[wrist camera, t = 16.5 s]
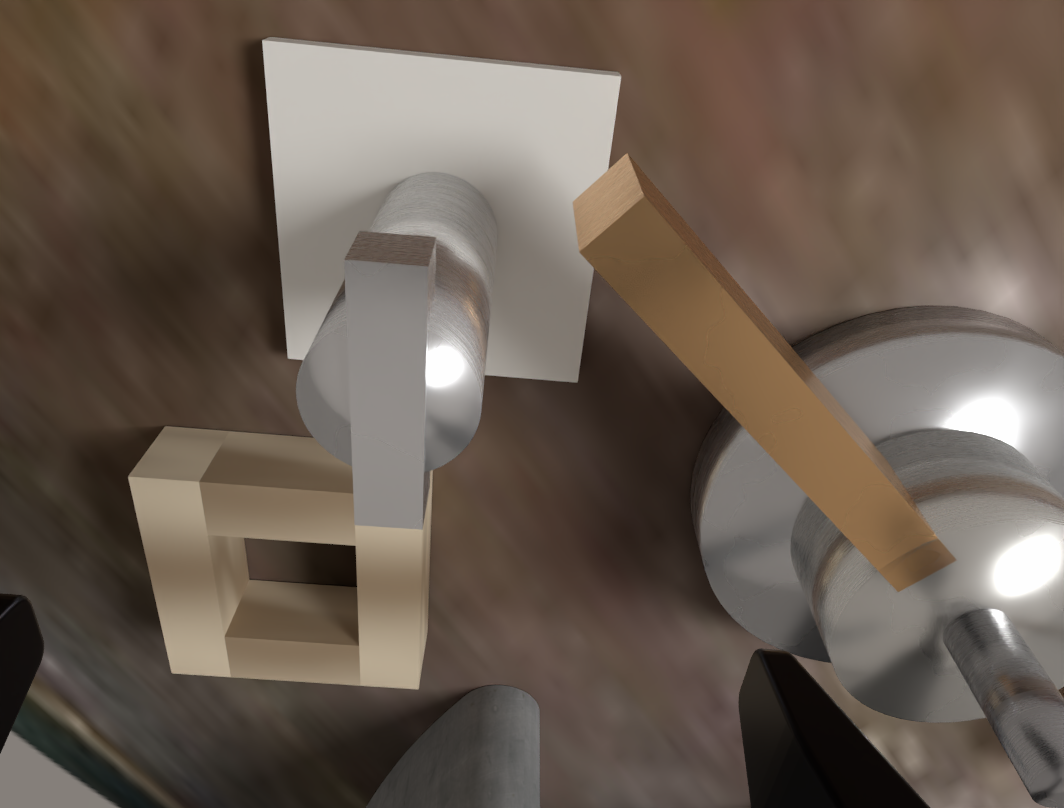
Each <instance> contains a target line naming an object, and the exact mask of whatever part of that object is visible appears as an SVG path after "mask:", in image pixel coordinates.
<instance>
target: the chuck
mask: <svg viewBox="0 0 1064 808" xmlns="http://www.w3.org/2000/svg"><path fill="white" fill-rule="evenodd" d="M573 209H574V217H575V224H576V232H577V240H578V247H579V253H580V254H581V255H582V256H583V257H584V258H585V259H586V260H587V261H588V262H589V263H590V264H591V265H592V266H593V267H594V269H595V270H596V271H597V272H598V273H599V274H600V275H601V276H602V277H603V278H604V279H605V280H606V281H607V282H608V283H609V285H610V286H611V287H612V288H613V289H614V290H615V291H616V292H617V293H618V294H619V295H620V296H621V297H622V298H623V299H624V301H625V302H626V303H627V304H628V305H629V306H630V307H631V308H632V309H633V310H634V311H635V312H636V313H637V314H638V315H639V316H640V318H641V319H642V320H643V321H644V322H645V323H646V324H647V325H648V326H649V327H650V328H651V329H652V330H653V331H654V332H655V334H656V335H657V336H658V337H659V338H660V339H661V340H662V341H663V342H664V343H665V344H666V345H667V346H668V347H669V348H670V350H671V351H672V352H673V353H674V354H675V355H676V356H677V357H678V358H679V359H680V360H681V361H682V362H683V363H684V364H685V366H686V367H687V368H688V369H689V370H690V371H691V372H692V373H693V374H694V375H695V376H696V377H697V378H698V379H699V380H700V382H701V383H702V384H703V385H704V386H705V387H706V388H707V389H708V390H709V391H710V392H711V393H712V394H713V395H714V396H715V398H716V399H717V400H718V401H719V402H720V403H721V404H722V405H723V406H724V407H725V408H726V409H727V410H728V411H729V412H730V414H731V415H732V416H733V417H734V418H735V419H736V420H737V421H738V422H739V423H740V424H741V425H742V426H743V427H744V428H745V430H746V431H747V432H748V433H749V434H750V435H751V436H752V437H753V438H754V439H755V440H756V441H757V442H758V443H759V444H760V446H761V447H762V448H763V449H764V450H765V451H766V452H767V453H768V454H769V455H770V456H771V457H772V458H773V459H774V460H775V462H776V463H777V464H778V465H779V466H780V467H781V468H782V469H783V470H784V471H785V472H786V473H787V474H788V475H789V476H790V478H791V479H792V480H793V481H794V482H795V483H796V484H797V485H798V486H799V487H800V488H801V489H802V490H803V491H804V492H805V494H806V495H807V496H808V498H807V500H806V501H805V502H804V504H803V506H802V508H801V510H800V511H799V513H798V515H797V518H796V520H795V523H794V526H793V529H792V535H791V540H790V553H791V559H792V564H793V567H794V570H795V572H796V575H797V577H798V580H799V582H800V585H801V587H802V590H803V592H804V595H805V597H806V600H807V602H808V605H809V607H810V610H811V612H812V615H813V617H814V620H815V622H816V625H817V627H818V630H819V632H820V635H821V637H822V640H823V642H824V645H825V647H826V650H827V652H828V655H829V657H830V660H831V662H832V665H833V667H834V670H835V672H836V675H837V677H838V678H839V680H840V682H841V683H842V685H843V686H844V687H845V689H846V690H847V691H848V692H849V693H850V694H851V695H852V696H853V697H855V698H856V699H857V700H858V701H860V702H861V703H863V704H864V705H866V706H868V707H870V708H871V709H873V710H876V711H878V712H881V713H883V714H886V715H889V716H893V717H896V718H900V719H905V720H911V721H919V722H933V723H935V722H959V721H969V720H975V719H980V718H987V720H988V722H989V723H990V725H991V727H992V729H993V730H994V732H995V734H996V736H997V737H998V739H999V741H1000V743H1001V744H1002V746H1003V748H1004V750H1005V751H1006V753H1007V755H1008V757H1009V759H1010V760H1011V762H1012V764H1013V766H1014V767H1015V769H1016V771H1017V773H1018V774H1019V776H1020V778H1021V780H1022V781H1023V783H1024V785H1025V787H1026V788H1027V790H1028V792H1029V794H1030V796H1031V797H1032V799H1033V800H1034V801H1035V802H1036V803H1038V804H1040V805H1042V806H1046V807H1051V808H1064V698H1063V696H1062V695H1061V693H1060V692H1059V689H1061V688H1062V687H1064V498H1063V497H1062V496H1061V495H1060V494H1059V493H1058V491H1057V490H1056V489H1055V488H1054V487H1053V486H1052V485H1051V484H1050V483H1049V482H1048V481H1047V480H1046V478H1045V477H1044V476H1043V475H1042V474H1041V473H1040V472H1039V471H1038V470H1037V469H1036V468H1035V466H1034V465H1033V464H1032V463H1031V462H1030V461H1029V460H1028V459H1027V458H1026V457H1025V456H1024V455H1023V454H1022V453H1021V452H1019V451H1018V450H1017V449H1016V448H1014V447H1013V446H1011V445H1009V444H1007V443H1006V442H1004V441H1002V440H1000V439H997V438H994V437H991V436H989V435H985V434H981V433H976V432H972V431H962V430H933V431H925V432H918V433H913V434H909V435H904V436H900V437H897V438H894V439H891V440H888V441H885V442H882V443H880V444H878V445H874V444H873V443H872V442H871V441H870V440H869V438H868V437H867V436H866V435H865V434H864V432H863V431H862V430H861V429H860V428H859V427H858V425H857V424H856V423H855V422H854V421H853V419H852V418H851V417H850V416H849V415H848V414H847V412H846V411H845V410H844V409H843V408H842V406H841V405H840V404H839V403H838V402H837V401H836V399H835V398H834V397H833V396H832V395H831V393H830V392H829V391H828V390H827V389H826V388H825V386H824V385H823V384H822V383H821V382H820V380H819V379H818V378H817V377H816V376H815V375H814V373H813V372H812V371H811V370H810V369H809V367H808V366H807V365H806V364H805V363H804V362H803V360H802V359H801V358H800V357H799V356H798V354H797V353H796V352H795V351H794V350H793V349H792V347H791V346H790V345H789V344H788V343H787V341H786V340H785V339H784V338H783V337H782V336H781V334H780V333H779V332H778V331H777V330H776V328H775V327H774V326H773V325H772V324H771V323H770V321H769V320H768V319H767V318H766V317H765V315H764V314H763V313H762V312H761V311H760V310H759V308H758V307H757V306H756V305H755V304H754V302H753V301H752V300H751V299H750V298H749V297H748V295H747V294H746V293H745V292H744V291H743V289H742V288H741V287H740V286H739V285H738V284H737V282H736V281H735V280H734V279H733V278H732V276H731V275H730V274H729V273H728V272H727V270H726V269H725V268H724V267H723V266H722V265H721V263H720V262H719V261H718V260H717V259H716V257H715V256H714V255H713V254H712V253H711V252H710V250H709V249H708V248H707V247H706V246H705V244H704V243H703V242H702V241H701V240H700V239H699V237H698V236H697V235H696V234H695V233H694V231H693V230H692V229H691V228H690V227H689V226H688V224H687V223H686V222H685V221H684V220H683V218H682V217H681V216H680V215H679V214H678V213H677V211H676V210H675V209H674V208H673V207H672V205H671V204H670V203H669V202H668V201H667V200H666V198H665V197H664V196H663V195H662V194H661V192H660V191H659V190H658V189H657V188H656V187H655V185H654V184H653V183H652V182H651V181H650V179H649V178H648V177H647V176H646V175H645V174H644V172H643V171H642V170H641V169H640V168H639V166H638V165H637V164H636V163H635V162H634V161H633V159H632V158H631V157H630V156H629V155H628V153H627V154H626V155H624V156H623V157H622V158H621V159H620V160H619V161H618V162H617V163H616V164H614V165H613V166H612V167H611V168H610V169H609V170H608V171H607V172H605V173H604V174H603V175H602V176H601V177H600V178H599V179H598V180H596V181H595V182H594V183H593V184H592V185H591V186H590V187H589V188H587V189H586V190H585V191H584V192H583V193H582V194H581V195H580V196H579V197H577V198H576V199H575V200H574V201H573Z"/></svg>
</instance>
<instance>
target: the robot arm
mask: <svg viewBox="0 0 1064 808" xmlns="http://www.w3.org/2000/svg"><path fill="white" fill-rule="evenodd" d="M43 653H44V641H43V637H42V634H41V631H40V628H39V625H38V622H37V619H36V616H35V613H34V610H33V607H32V604H31V602H30V600H29V599H28V598H27V597H25V596H22V595H13V594H0V753H1V751H2V749H3V746H4V744H5V742H6V739H7V737H8V735H9V733H10V731H11V728H12V726H13V724H14V722H15V719H16V717H17V715H18V713H19V710H20V708H21V706H22V704H23V701H24V699H25V697H26V695H27V692H28V690H29V688H30V686H31V683H32V681H33V679H34V677H35V674H36V672H37V670H38V668H39V665H40V663H41V660H42V657H43ZM739 714H740V722H741V730H742V738H743V746H744V754H745V762H746V770H747V778H748V786H749V794H750V802H751V808H930V807H929V806H928V805H927V804H926V803H925V802H924V800H923V799H922V798H921V797H920V796H919V795H918V794H917V793H916V792H915V790H914V789H913V788H912V787H911V786H910V785H909V784H908V783H907V782H906V780H905V779H904V778H903V777H902V776H901V775H900V774H899V773H898V772H897V770H896V769H895V768H894V767H893V766H892V765H891V764H890V763H889V762H888V760H887V759H886V758H885V757H884V756H883V755H882V754H881V753H880V752H879V750H878V749H877V748H876V747H875V746H874V745H873V744H872V743H871V742H870V740H869V739H868V738H867V737H866V736H865V735H864V734H863V733H862V732H861V730H860V729H859V728H858V727H857V726H856V725H855V724H854V723H853V722H852V720H851V719H850V718H849V717H848V716H847V715H846V714H845V713H844V712H843V710H842V709H841V708H840V707H839V706H838V705H837V704H836V703H835V702H834V700H833V699H832V698H831V697H830V696H829V695H828V694H827V693H826V692H825V691H824V689H823V688H822V687H821V686H820V685H819V684H818V683H817V682H816V681H815V679H814V678H813V677H812V676H811V675H810V674H809V673H808V672H807V671H806V669H805V668H804V667H803V666H802V665H801V664H800V663H799V662H798V661H797V659H796V658H795V657H794V656H793V655H792V654H790V653H789V652H787V651H784V650H772V649H757V650H756V651H755V652H754V653H753V655H752V657H751V660H750V663H749V666H748V669H747V672H746V675H745V677H744V680H743V683H742V686H741V689H740V693H739Z"/></svg>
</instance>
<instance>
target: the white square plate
mask: <svg viewBox="0 0 1064 808" xmlns="http://www.w3.org/2000/svg"><path fill="white" fill-rule="evenodd" d="M262 45H263V57H264V69H265V82H266V94H267V106H268V119H269V131H270V144H271V156H272V168H273V181H274V193H275V205H276V218H277V230H278V242H279V255H280V267H281V280H282V292H283V304H284V317H285V329H286V341H287V354H288V359H299V360H304V358H305V356H306V354H307V352H308V350H309V348H310V347H311V345H312V343H313V341H314V339H315V337H316V335H317V333H318V331H319V329H320V327H321V325H322V323H323V321H324V319H325V317H326V315H327V313H328V311H329V309H330V307H331V305H332V303H333V301H334V299H335V297H336V295H337V293H338V291H339V289H340V287H341V285H342V283H343V281H344V279H345V269H344V259H345V257H346V255H347V253H348V251H349V249H350V248H351V246H352V244H353V242H354V240H355V238H356V236H357V234H358V233H359V231H369V229H370V227H371V225H372V223H373V221H374V219H375V217H376V215H377V213H378V211H379V209H380V207H381V205H382V203H383V201H384V199H385V198H386V196H387V195H388V194H389V192H390V191H391V190H392V189H393V188H394V187H395V186H396V185H398V184H399V183H400V182H402V181H403V180H405V179H407V178H409V177H411V176H414V175H417V174H421V173H428V172H440V173H447V174H450V175H454V176H457V177H459V178H461V179H463V180H465V181H467V182H469V183H470V184H472V185H473V186H474V187H475V188H477V189H478V190H479V191H480V192H481V193H482V194H483V196H484V197H485V198H486V200H487V201H488V203H489V204H490V206H491V208H492V210H493V212H494V215H495V218H496V222H497V229H498V239H497V250H496V260H495V271H494V282H493V292H492V303H491V314H490V324H489V335H488V346H487V356H486V367H485V375H491V376H503V377H515V378H527V379H539V380H551V381H563V382H575V383H578V376H579V369H580V362H581V355H582V348H583V341H584V334H585V327H586V320H587V313H588V306H589V299H590V292H591V285H592V278H593V271H594V267H593V266H592V265H591V264H590V263H589V262H588V261H587V260H586V259H585V258H584V257H583V256H582V255H581V254H580V253H579V247H578V240H577V232H576V224H575V217H574V209H573V201H574V200H575V199H576V198H577V197H579V196H580V195H581V194H582V193H583V192H584V191H585V190H586V189H587V188H589V187H590V186H591V185H592V184H593V183H594V182H595V181H596V180H598V179H599V178H600V177H601V176H602V175H603V174H604V173H605V172H607V171H608V166H609V159H610V152H611V145H612V138H613V131H614V124H615V117H616V110H617V103H618V96H619V89H620V81H621V75H620V73H619V72H612V71H602V70H592V69H582V68H572V67H563V66H553V65H543V64H533V63H523V62H513V61H503V60H493V59H484V58H474V57H464V56H454V55H444V54H434V53H424V52H414V51H404V50H395V49H385V48H375V47H365V46H355V45H345V44H335V43H325V42H316V41H306V40H296V39H286V38H276V37H269V38H266V39H264V40H262Z"/></svg>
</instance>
